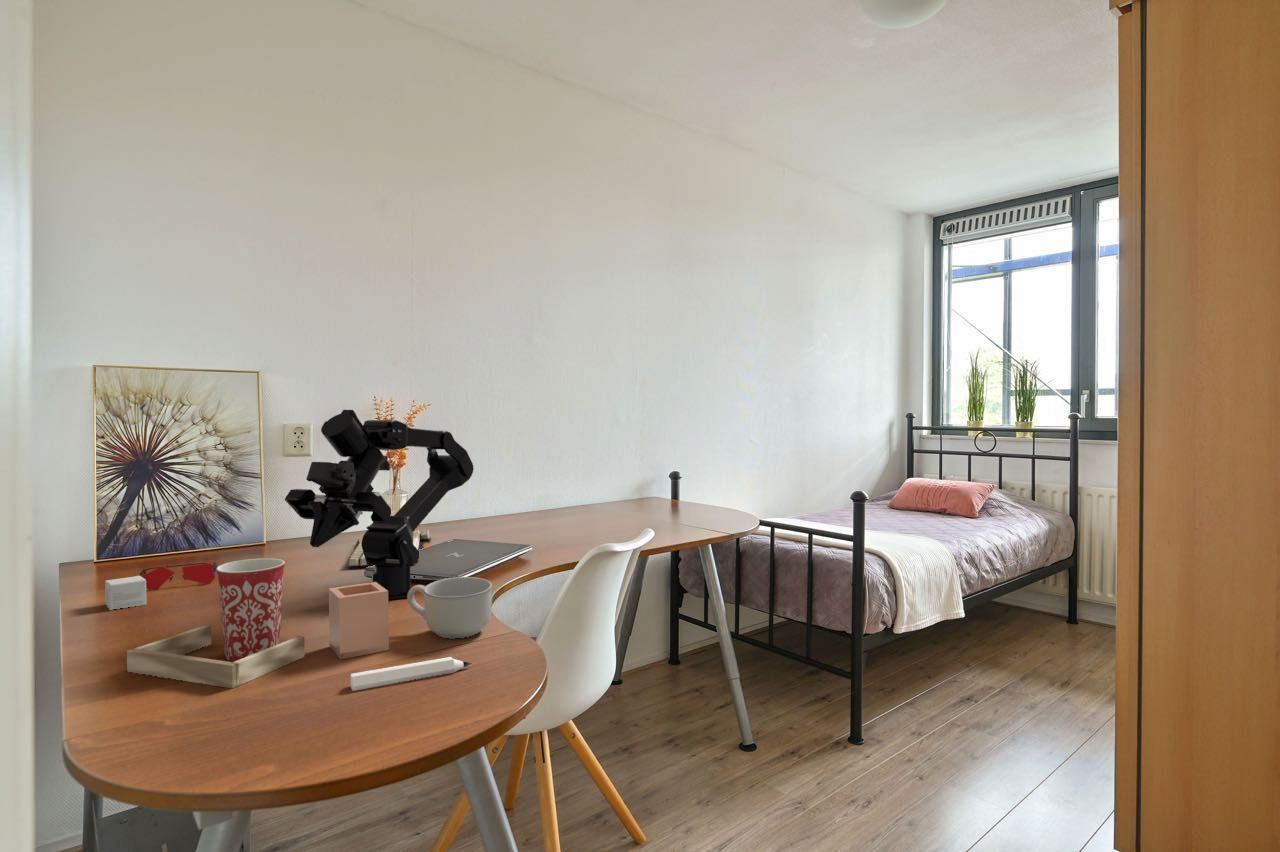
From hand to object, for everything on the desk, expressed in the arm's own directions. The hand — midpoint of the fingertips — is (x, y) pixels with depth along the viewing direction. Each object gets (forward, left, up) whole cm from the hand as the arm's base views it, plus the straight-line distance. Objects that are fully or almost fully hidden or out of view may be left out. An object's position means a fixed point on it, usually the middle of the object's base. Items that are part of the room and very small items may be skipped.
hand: (313, 545), depth 121 cm
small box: (+32, -30, -14) cm, 46 cm away
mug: (+9, +9, -14) cm, 19 cm away
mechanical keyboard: (-18, -60, -14) cm, 64 cm away
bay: (+13, +14, -14) cm, 23 cm away
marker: (-12, +31, -14) cm, 36 cm away
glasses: (+26, -49, -14) cm, 57 cm away
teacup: (-20, +13, -14) cm, 28 cm away
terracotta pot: (-6, +15, -14) cm, 21 cm away
